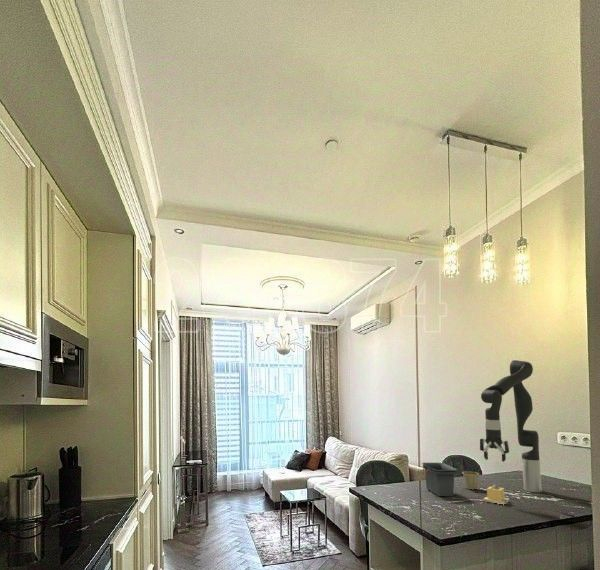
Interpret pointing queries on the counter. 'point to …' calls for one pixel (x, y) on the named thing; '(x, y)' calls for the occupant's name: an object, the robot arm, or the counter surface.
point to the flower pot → (471, 479)
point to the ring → (495, 493)
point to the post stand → (496, 500)
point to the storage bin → (439, 478)
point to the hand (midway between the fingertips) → (494, 460)
